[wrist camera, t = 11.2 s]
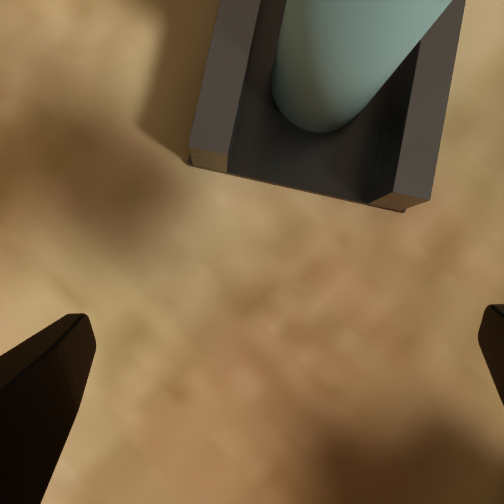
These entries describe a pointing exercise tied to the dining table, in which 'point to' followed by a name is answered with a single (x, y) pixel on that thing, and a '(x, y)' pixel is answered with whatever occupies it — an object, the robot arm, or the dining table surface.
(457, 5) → the rail dock
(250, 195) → the dining table surface
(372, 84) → the teal peg
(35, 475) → the robot arm
